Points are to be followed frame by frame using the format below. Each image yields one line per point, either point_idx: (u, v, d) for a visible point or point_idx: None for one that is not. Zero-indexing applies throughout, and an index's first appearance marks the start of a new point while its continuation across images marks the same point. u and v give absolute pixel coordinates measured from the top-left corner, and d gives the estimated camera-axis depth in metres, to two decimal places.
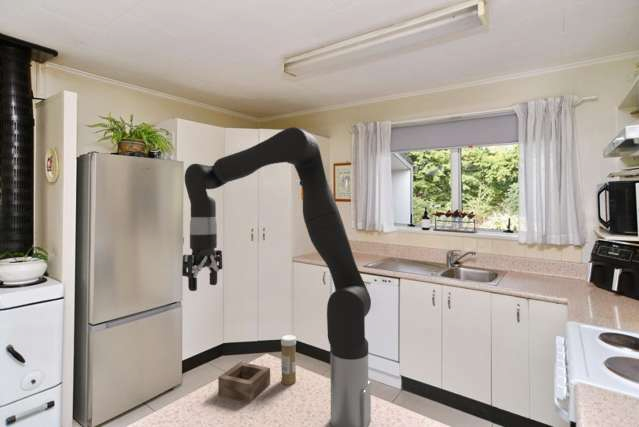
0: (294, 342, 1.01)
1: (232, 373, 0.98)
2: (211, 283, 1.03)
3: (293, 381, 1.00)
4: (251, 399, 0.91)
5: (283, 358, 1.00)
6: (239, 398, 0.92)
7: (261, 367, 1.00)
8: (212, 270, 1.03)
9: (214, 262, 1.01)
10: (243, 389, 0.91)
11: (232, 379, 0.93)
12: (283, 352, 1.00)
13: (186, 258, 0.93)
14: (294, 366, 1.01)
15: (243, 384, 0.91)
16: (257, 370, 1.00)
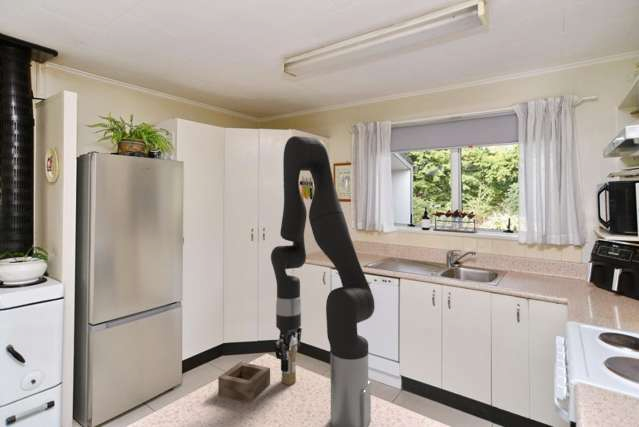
0: (294, 342, 1.01)
1: (232, 373, 0.98)
2: None
3: (293, 381, 1.00)
4: (251, 399, 0.91)
5: None
6: (239, 398, 0.92)
7: (261, 367, 1.00)
8: None
9: (296, 340, 1.03)
10: (243, 389, 0.91)
11: (232, 379, 0.93)
12: None
13: (278, 345, 0.96)
14: (294, 366, 1.01)
15: (243, 384, 0.91)
16: (257, 370, 1.00)
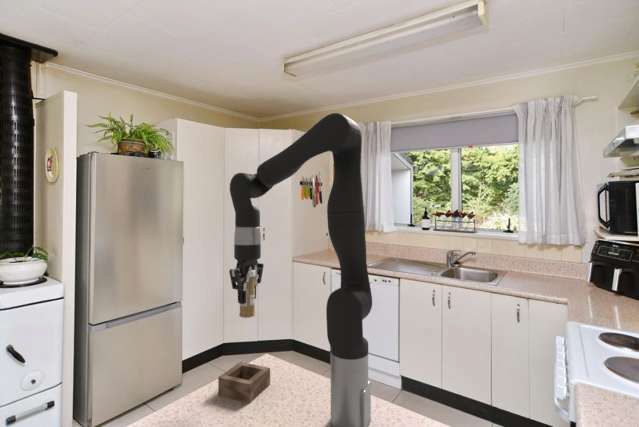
0: (252, 274, 0.96)
1: (232, 373, 0.98)
2: None
3: (251, 314, 0.96)
4: (251, 399, 0.91)
5: None
6: (239, 398, 0.92)
7: (261, 367, 1.00)
8: None
9: (256, 274, 0.99)
10: (243, 389, 0.91)
11: (232, 379, 0.93)
12: None
13: (233, 273, 0.92)
14: (252, 299, 0.97)
15: (243, 384, 0.91)
16: (257, 370, 1.00)
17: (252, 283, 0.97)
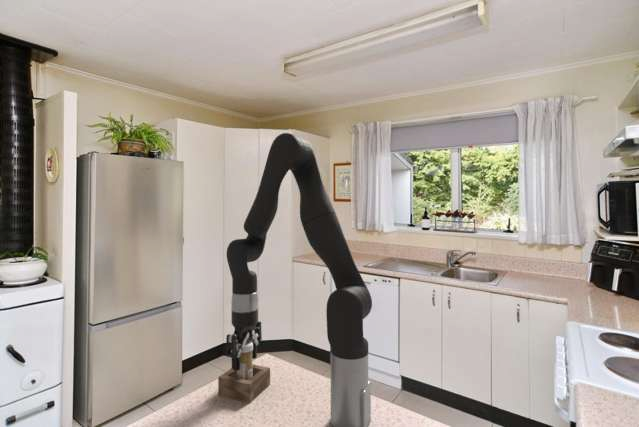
0: (250, 348, 0.96)
1: (232, 373, 0.98)
2: None
3: None
4: (251, 399, 0.91)
5: None
6: (239, 398, 0.92)
7: (261, 367, 1.00)
8: None
9: (255, 336, 0.99)
10: (243, 389, 0.91)
11: (232, 379, 0.93)
12: None
13: (230, 339, 0.91)
14: (250, 374, 0.96)
15: (243, 384, 0.91)
16: (257, 370, 1.00)
17: (250, 357, 0.96)
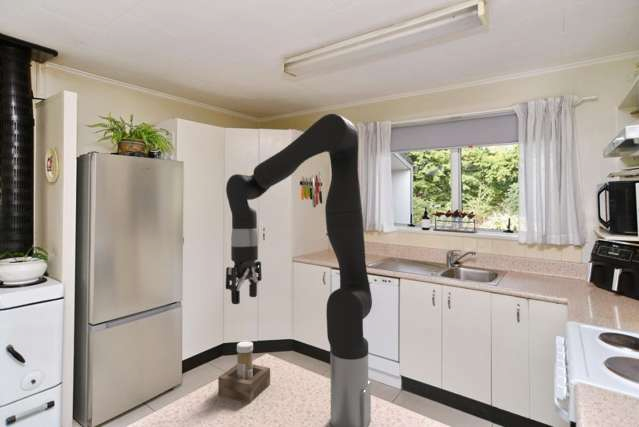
0: (250, 349, 0.96)
1: (232, 373, 0.98)
2: (251, 295, 1.01)
3: None
4: (251, 399, 0.91)
5: (238, 365, 0.96)
6: (239, 398, 0.92)
7: (261, 367, 1.00)
8: (252, 282, 1.01)
9: (255, 274, 0.99)
10: (243, 389, 0.91)
11: (232, 379, 0.93)
12: (238, 359, 0.96)
13: (230, 271, 0.91)
14: (250, 374, 0.96)
15: (243, 384, 0.91)
16: (257, 370, 1.00)
17: (250, 358, 0.96)
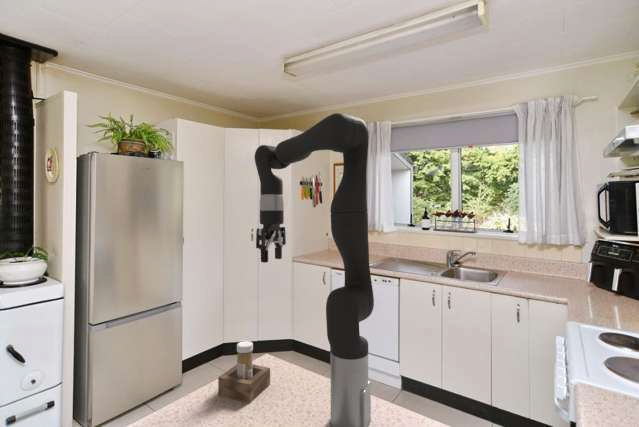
0: (250, 349, 0.96)
1: (232, 373, 0.98)
2: (276, 257, 1.10)
3: None
4: (251, 399, 0.91)
5: (238, 365, 0.96)
6: (239, 398, 0.92)
7: (261, 367, 1.00)
8: (277, 245, 1.10)
9: (280, 237, 1.08)
10: (243, 389, 0.91)
11: (232, 379, 0.93)
12: (238, 359, 0.96)
13: (260, 231, 1.00)
14: (250, 374, 0.96)
15: (243, 384, 0.91)
16: (257, 370, 1.00)
17: (250, 358, 0.96)
